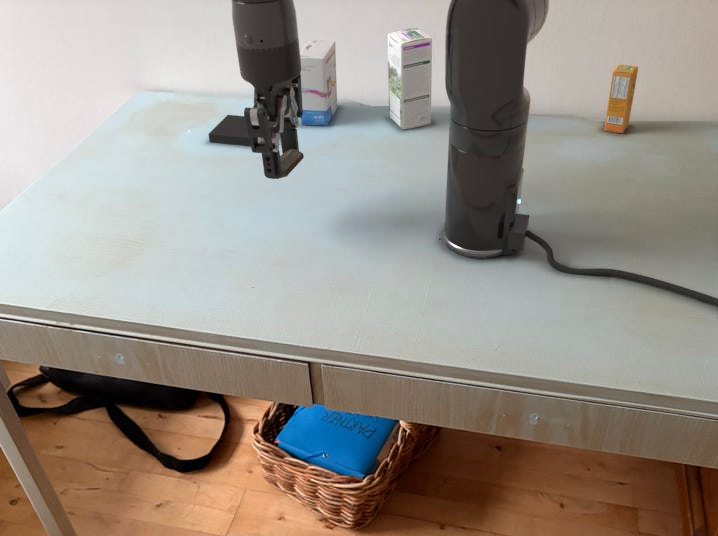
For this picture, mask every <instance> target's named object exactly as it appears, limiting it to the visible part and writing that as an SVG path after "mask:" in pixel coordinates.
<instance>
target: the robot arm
mask: <svg viewBox="0 0 718 536" xmlns="http://www.w3.org/2000/svg"><path fill="white" fill-rule="evenodd" d="M549 9H550V0H450V2H449V6H448V10H447V13H446V21H445V37H444V38H445V40H444V41H445V42H444V45H445V48H444V50H445V51H444V54H445V55H444V74H445V75H444V82H445V83H444V85H445V92H446V96H447V100H448V101H449V106H450V107H449V108H450V109H449V129H448V148H447V149H448V150H447V171H446V187H445V189H446V190H445V192H446V193H445V211H444V226H443V227H444V229H443V237H442V238H443V242H444V244H445V246H446V248H448V249H449V250H451V251H452V252H453V253H455V254H457V255H460V256H462V257H463V256H464V257H468V258H474V259H489V258H494V257H498V256H511V254H512V250H517V251H523V250H524V247H525V243H526V239H527V238H528V239H529V240H531V241H533V242H535V243H536V244H537V245H539V246H540V247H541V248H542V249H543V250H544V251H545V254H546V259H547V262H548V264H549V265H550V267H552V268H554V269H555V270H556V271H559V272H561V273H565V274H569V275H577V276H611V277H617V278H621V279H627V280H631V281H635V282H639V283H644V284H647V285H650V286H654V287H658V288H661V289H664V290H668V291H671V292H674V293H676V294H677V293H678V294H681V295H684V296H686V297H690V298H693V299H695V300H698V301H702V302H705V303H708V304H710V305H713V306H716V307H718V297H714V296H712V295H709V294H705V293H703V292H699V291H697V290H693V289H691V288H688V287H684V286H681V285H677V284H675V283H671V282H668V281H665V280H660V279H658V278H654V277H650V276H646V275H643V274H639V273H634V272H630V271H627V270H626V271H625V270H620V269H615V268H573V267H568V266H566V265H563V264H562V263H560V262H558V261H557V260H556V259H555V255H554V251H553V248H552V247H551V245H550V244H549V243H548V242H547V241H546V240H545V239H543V238H542V237H540V236H539V235H537V234H536V233H533V232H532V231H531V230H529V223H530V214H524V213H520V205H521V196H522V189H523V180H524V172H525V170H524V167H523V166H524V158H525V151H526V143H527V142H526V141H527V132H528V125H529V124H528V123H529V117H530V108H531V94H530V92H529V90H528V89H527V88H526V87H525V86H524V84H525V71H526V60H527V59H526V58H527V50H528V45H529V43H531V42H532V41H533V40H534V39H535V37H536V36H537V35H538V34H539V33H540V31H541V30H542V29H543V27H544V25H545V23H546V20H547V18H548V14H549ZM231 16H232V17H231V19H232V27H233V33H234V39H235V47H236V55H237V61H238V66H239V67H238V68H239V75H240V77H241V78H242V80H243V81H245V82H246V83H249V84H250V85H251V86H252V87H253V106H252V107H245V108H244V110H243V116H244V117H245V121H246V126H247V130H248V135H249V140H250V144H251V146H250V148H251V152H252V153H253V154H254V153H255V154H261V160H262V166H263V174H264V177H265V178H266V179H270V178H272V179H271V180H280V179H281V178H280V177H281V176H282V168H281V160H280V156H281V153H282V154H283V153H285V152H286V151H288V150H289V149H296V150H298V151H300V148H299V138H298V137H299V136H298V128H299V126H300V121H299V119H301V118H302V115H303V108H302V89H301V73H300V72H301V59H300V50H301V49H300V40H299V29H298V18H297V11H296V6H295V3H294V0H231ZM269 122H273V123H276V125H275V126H269ZM270 132H271V133H272V134H273V138H271V133H270ZM257 137H258V140H257ZM280 145H281V152H280Z"/></svg>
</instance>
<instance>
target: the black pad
mask: <svg viewBox="0 0 718 536" xmlns="http://www.w3.org/2000/svg"><path fill="white" fill-rule="evenodd" d="M275 125H276V123H273V122H269V126H275ZM270 133H271V132H270ZM271 138H273V134H272V133H271ZM208 139H209V142H210V143H215V144H225V145H233V146H234V145H235V146H244V147H245V146H246V147H251V144H250V140H249V135H248V130H247V126H246V121H245V117H244V115H234V114H227V115H226V116H225V117H224V118H223V119H222V120H221V121H220V122H219V123H218V124H217V125H216V126H215V127H214V128H213V129H211V131H210V132H208ZM257 140H258V137H257Z"/></svg>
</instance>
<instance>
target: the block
mask: <svg viewBox="0 0 718 536" xmlns="http://www.w3.org/2000/svg"><path fill="white" fill-rule="evenodd" d="M304 157H305V155H304V153H303V152H302V151H300V150H299V151H298V150H296V149H289V150H288V151H286V152H285V153H282V154H280V160H281V168H282V176H281V177H280V178H279V179H283V178H285V177H288V176H289V175H290V174H291V172H293V170H294V169H295V168H296V167H297V166H298V165H299V164H300V163H301V161H302V160H303V159H304ZM269 179H271V180H273V179H272V178H269Z"/></svg>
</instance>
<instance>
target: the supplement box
mask: <svg viewBox="0 0 718 536" xmlns="http://www.w3.org/2000/svg"><path fill="white" fill-rule="evenodd" d="M638 72H639V66H636V65H629V64H618V65H617V66H616V67H615V69H614V70H613V71H612V75H611V81H610V89H609V96H608V102H607V109H606V114H605V120H604V121H605V122H604V128H603V130H604V132H609V133H616V134H624V132H625V131H626V129H627V128H628V126H629V124H630V118H631V112H632V107H633V101H634V95H635V90H636V84H637V78H638Z"/></svg>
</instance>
